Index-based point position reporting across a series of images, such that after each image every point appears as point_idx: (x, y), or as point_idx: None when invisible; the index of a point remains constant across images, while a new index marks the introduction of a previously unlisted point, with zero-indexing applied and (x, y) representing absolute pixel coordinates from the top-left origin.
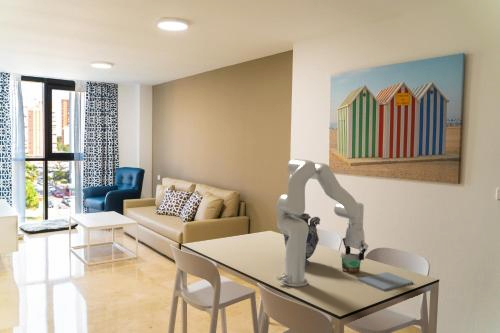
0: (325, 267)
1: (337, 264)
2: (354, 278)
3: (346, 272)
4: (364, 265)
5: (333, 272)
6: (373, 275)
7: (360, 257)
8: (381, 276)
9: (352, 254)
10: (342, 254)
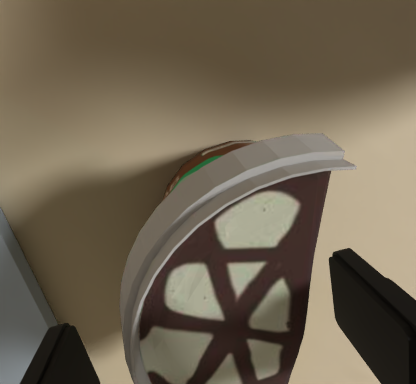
0: (395, 27)
1: (411, 194)
2: (28, 139)
3: (198, 154)
4: (310, 372)
5: (238, 20)
6: (35, 323)
7: (37, 371)
8: (5, 368)
9: (260, 331)
10: (310, 161)
